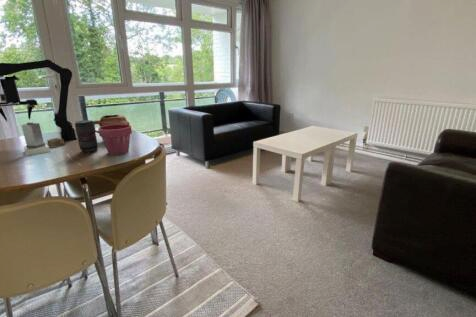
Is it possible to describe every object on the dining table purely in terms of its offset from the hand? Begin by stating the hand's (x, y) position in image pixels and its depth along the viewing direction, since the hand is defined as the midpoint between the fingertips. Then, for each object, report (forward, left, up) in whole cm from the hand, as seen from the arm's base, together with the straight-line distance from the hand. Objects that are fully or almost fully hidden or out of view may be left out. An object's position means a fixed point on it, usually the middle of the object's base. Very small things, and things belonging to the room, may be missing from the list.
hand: (18, 120), depth 136 cm
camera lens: (-22, +37, -13) cm, 45 cm away
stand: (-3, +20, -13) cm, 24 cm away
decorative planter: (-38, +22, -13) cm, 46 cm away
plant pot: (-32, +48, -13) cm, 59 cm away
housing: (-3, +20, -10) cm, 23 cm away
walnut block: (-12, +14, -13) cm, 23 cm away
